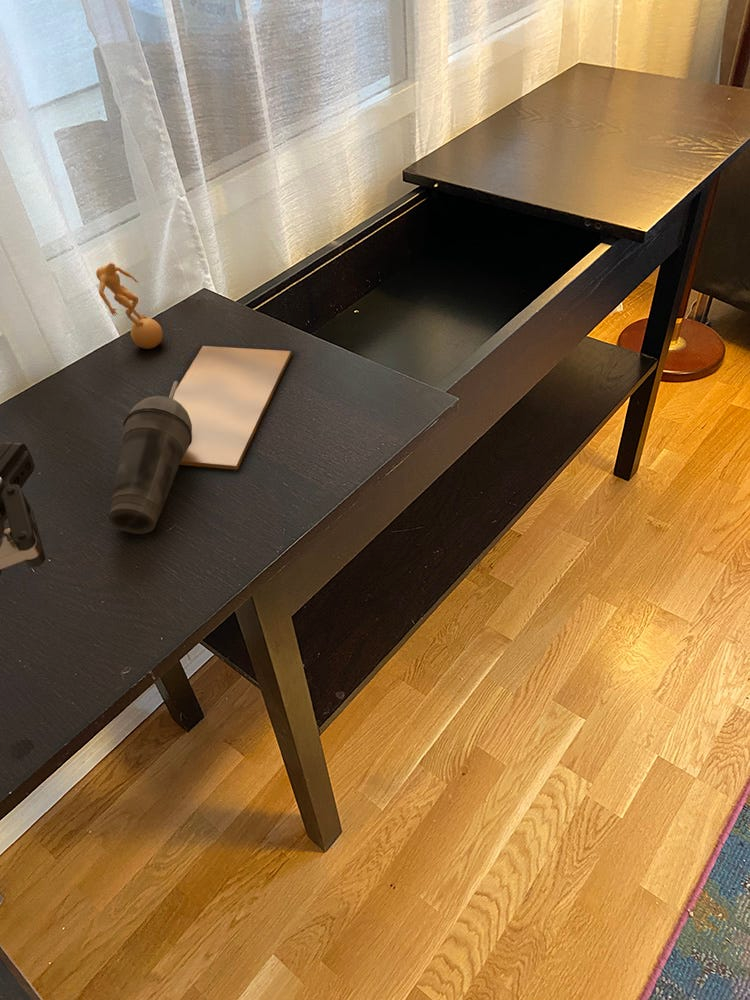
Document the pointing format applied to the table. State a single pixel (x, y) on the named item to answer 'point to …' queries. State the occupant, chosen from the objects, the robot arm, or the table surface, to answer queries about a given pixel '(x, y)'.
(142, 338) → the figurine
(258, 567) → the table surface
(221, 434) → the tan rectangular board
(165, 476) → the beverage cup
